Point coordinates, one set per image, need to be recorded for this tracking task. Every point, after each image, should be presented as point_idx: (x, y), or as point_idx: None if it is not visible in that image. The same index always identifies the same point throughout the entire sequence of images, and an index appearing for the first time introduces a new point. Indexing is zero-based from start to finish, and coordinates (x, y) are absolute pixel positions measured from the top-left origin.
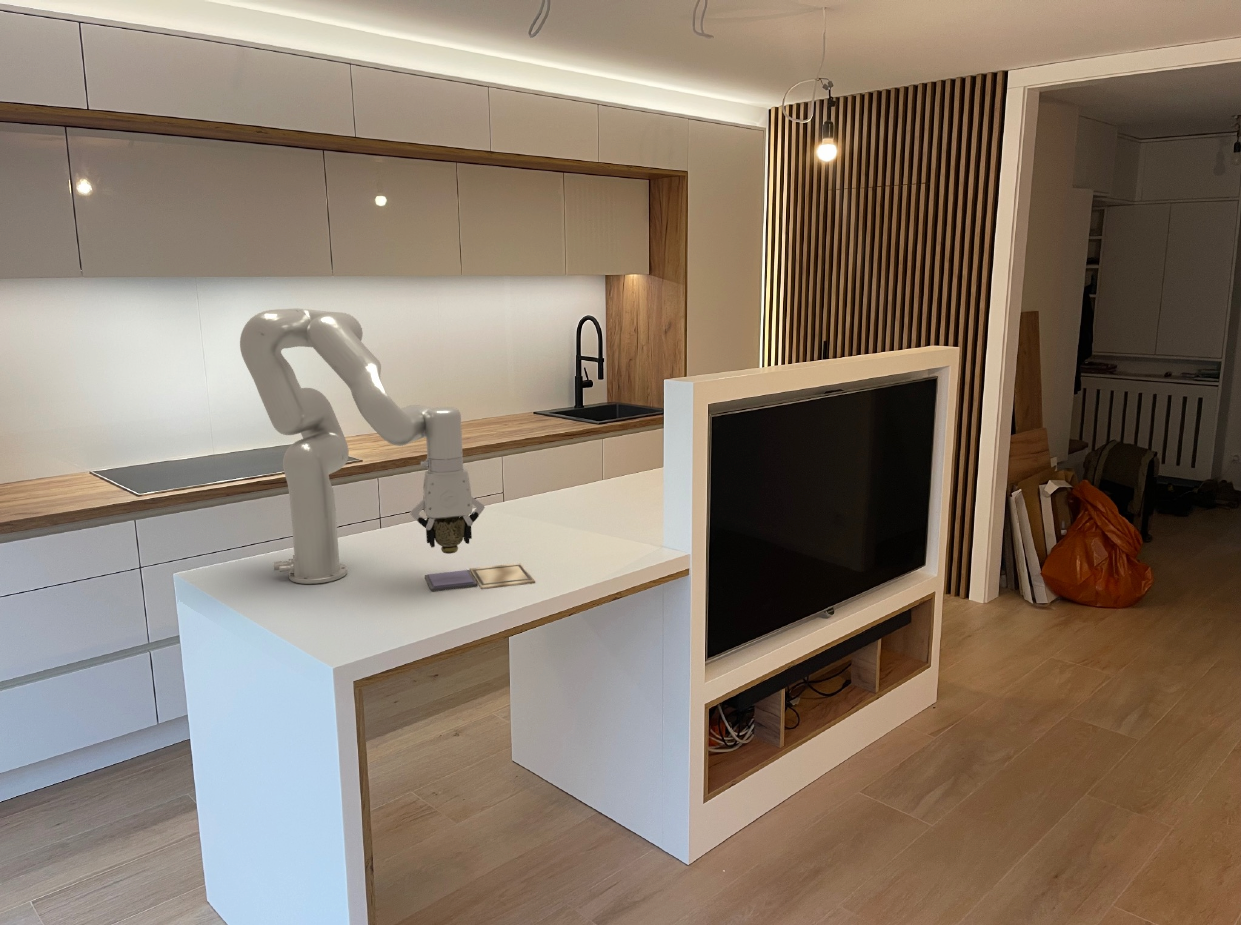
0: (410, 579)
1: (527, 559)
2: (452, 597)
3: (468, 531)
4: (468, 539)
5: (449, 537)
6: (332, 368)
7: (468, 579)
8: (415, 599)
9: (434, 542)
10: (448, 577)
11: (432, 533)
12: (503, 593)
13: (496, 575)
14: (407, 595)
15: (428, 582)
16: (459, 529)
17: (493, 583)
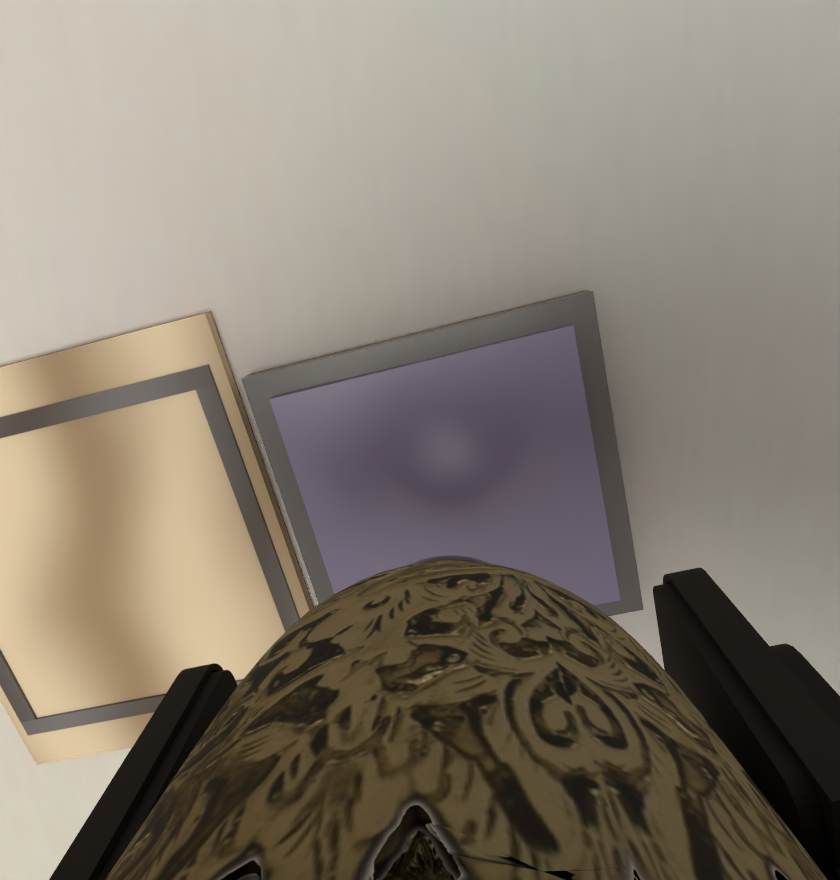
0: (734, 580)
1: (23, 831)
2: (412, 134)
3: (94, 817)
4: (169, 701)
5: (426, 597)
6: None
7: (313, 450)
8: (712, 113)
9: (680, 617)
10: (467, 514)
11: (798, 729)
12: (25, 191)
13: (140, 557)
14: (773, 227)
15: (614, 445)
16: (186, 772)
17: (126, 385)
